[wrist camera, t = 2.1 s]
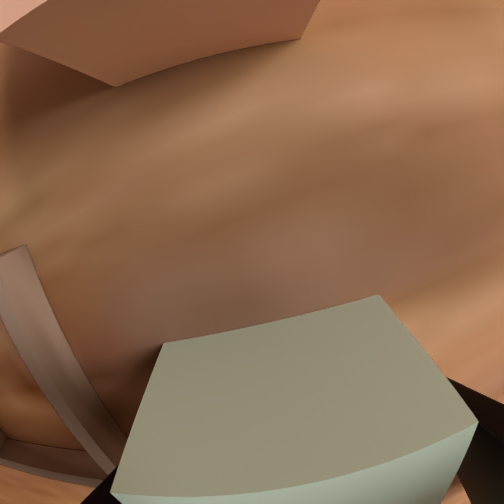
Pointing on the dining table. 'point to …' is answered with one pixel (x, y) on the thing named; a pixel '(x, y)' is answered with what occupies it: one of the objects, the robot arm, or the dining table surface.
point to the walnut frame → (54, 384)
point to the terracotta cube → (146, 31)
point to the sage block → (297, 416)
